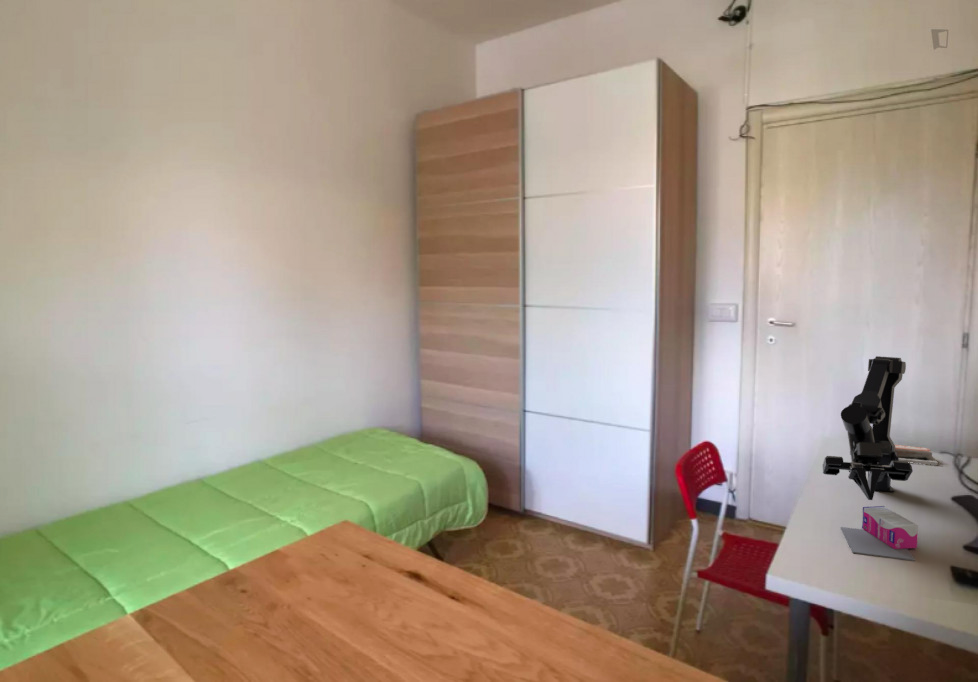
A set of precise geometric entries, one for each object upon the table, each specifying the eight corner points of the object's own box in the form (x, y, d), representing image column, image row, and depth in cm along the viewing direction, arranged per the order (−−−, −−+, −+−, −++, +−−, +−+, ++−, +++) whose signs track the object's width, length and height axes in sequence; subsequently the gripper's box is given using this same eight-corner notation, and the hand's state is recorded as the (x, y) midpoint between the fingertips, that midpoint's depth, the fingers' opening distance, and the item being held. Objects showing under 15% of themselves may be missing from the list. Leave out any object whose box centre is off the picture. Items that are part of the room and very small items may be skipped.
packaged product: (873, 447, 197) (869, 439, 206) (872, 460, 198) (869, 452, 206) (938, 453, 189) (932, 444, 197) (937, 467, 189) (931, 458, 198)
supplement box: (861, 506, 145) (895, 526, 133) (883, 505, 145) (920, 524, 134) (860, 528, 145) (894, 549, 134) (883, 527, 146) (919, 548, 134)
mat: (840, 528, 147) (840, 526, 147) (896, 534, 142) (896, 533, 142) (852, 553, 134) (852, 551, 134) (914, 560, 129) (914, 559, 129)
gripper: (826, 425, 149) (832, 481, 140) (912, 430, 142) (925, 489, 133) (819, 446, 157) (825, 500, 148) (901, 452, 150) (912, 508, 142)
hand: (870, 499), depth 143 cm, fingers closed
